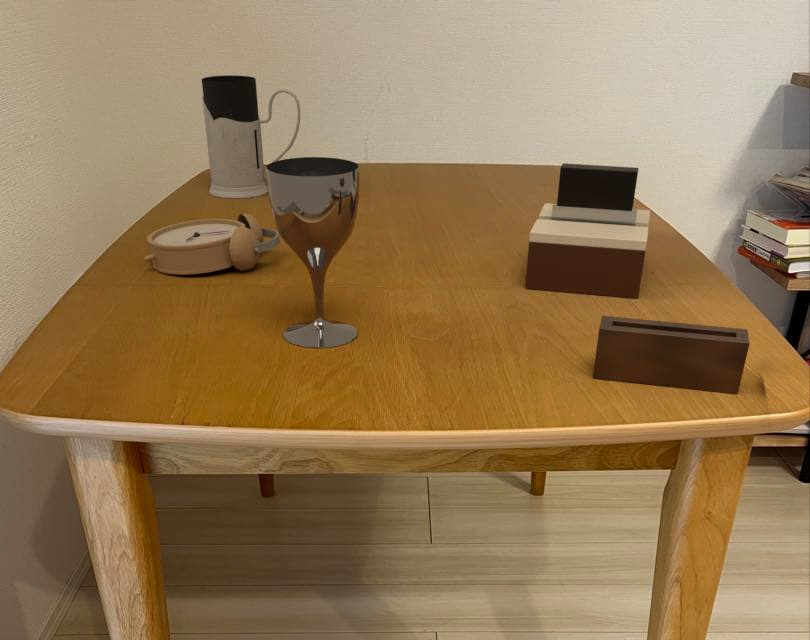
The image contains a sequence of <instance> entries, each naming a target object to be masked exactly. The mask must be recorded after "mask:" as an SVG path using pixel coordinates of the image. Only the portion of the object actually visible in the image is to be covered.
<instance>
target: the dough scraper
mask: <svg viewBox="0 0 810 640" xmlns="http://www.w3.org/2000/svg"><path fill="white" fill-rule="evenodd" d="M559 168H560V169H559V181H558V188H557V189H558V190H557V201H556V203H552V204H553V209H552V219H551V220H557V221H571V222H585V223H598V224H612V225H626V226H635V221H636V215H637V210H638V208H634V203H635V195H636V188H637V182H638V175H639V167H633V166H632V167H631V166H617V165H599V164H595V165H594V164H581V163H565V162H563V163H562V164H561V165H560V167H559Z"/></svg>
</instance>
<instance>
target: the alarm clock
mask: <svg viewBox="0 0 810 640" xmlns="http://www.w3.org/2000/svg"><path fill="white" fill-rule="evenodd" d="M264 237H265V238H270V239H269V240H266V241H264ZM146 238H147V239H146V242H147V245H148V249H149V253H150V254H148V255H146V256H144V257H143V260H144V262H151V261H152V268H153V269H154V270H156V271H157V272H160V273H163V274H168V275H179V276H180V275H197V274H198V275H199V274H206V273H212V272H216V271H221V270H226V269H229V268H231V267H235V268H236V270H238V271H240V272H242V271H248V270H251V269H253V268H254V267H255V266H256V265H257V263H258V262H259V259H260V256H261V253H263V252H267V251H270V250H272V249H275V248H276V247H278V246H279V245H280V243H281V240H280V234H279V232H278V230H275V229H271V228H265V227H262V226H261V224H260V222H259V221H258V219H257V218H256V217H254V215H252V214H249V213H240V214H239V215H238V218H237V220H236V219H231V218H205V219H203V218H202V219H195V220H188V221H183V222H182V221H181V222H178V223H174V224H170V225H167V226H164V227H161V228H159V229H157V230H155V231H152V232H151V233H150V234H148V235H147V236H146Z"/></svg>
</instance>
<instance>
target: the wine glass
mask: <svg viewBox="0 0 810 640" xmlns="http://www.w3.org/2000/svg"><path fill="white" fill-rule="evenodd" d="M266 168H267V173H266V186H267V187H268V192H267V193H268V201H269V205H270V211H271V215H272V218H273V221H274V224H275V227H276V231H277V232H278V233H279V237H281V238H282V240H283V241H284V243H285V244H286V246H288V247H289V248H290V249H291V250H292V252H293V253H294V254H295V255H297V257H298V258H299V259H300V260H301V261H302V263H303V264H304V266H305V267H306V269H307V272H308V274H309V276H310V280H311V284H312V290H313V297H314V309H315V312H314V313H315V317H314V319H311V320H304V321H299V322H296V323H293V324H292V325H290V326H288V327H287V328H285V329H284V332H282V333H283V334H282V337H283V339H284V340H285V341H286V342H288V343H289V344H293V345H295V346H298V345H299V346H298V347H302V348H303V347H304V348H313V349H323V348H333V347H340V346H344V345H346V344H349V343H351V342H352V341H354V340H355V339H357V337H358V335H359V332H358V329H357V328H356V327H355V326H353V324H350V323H347V322H345V321H340V320H334V319H326V318H325V311H324V309H325V308H324V291H325V280H326V276H327V275H326V274H327V272H328V270H329V266H330V265H331V264H332V262H333V260H334V258H335V257H336V256H337V255H338V253H339V252H340V251H341V249H342V248H343V247H344V246H345V244H347V242H348V241H349V239H350V238H351V236H352V234H353V231H354V228H355V224H356V221H357V220H356V219H357V215H358V208H359V200H360V168H359V164H358V163H356V162H354V161H352V160H349V159H344V158H337V157H325V156H323V157H322V156H320V157H319V156H305V157H304V156H303V157H292V158H291V157H290V158H284V159H279V160H278V161H275V162H273V161H272V162H270V163H269V164H267V165H266Z"/></svg>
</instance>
